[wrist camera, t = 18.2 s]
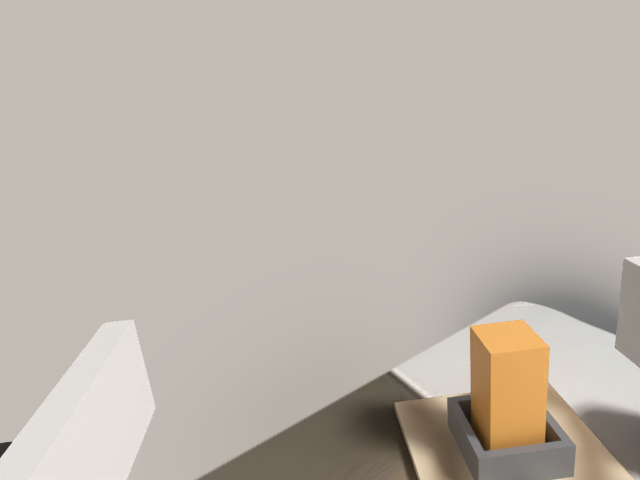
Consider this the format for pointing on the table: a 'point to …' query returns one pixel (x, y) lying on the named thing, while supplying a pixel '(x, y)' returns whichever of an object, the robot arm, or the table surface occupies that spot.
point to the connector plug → (508, 385)
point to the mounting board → (448, 463)
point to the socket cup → (511, 450)
